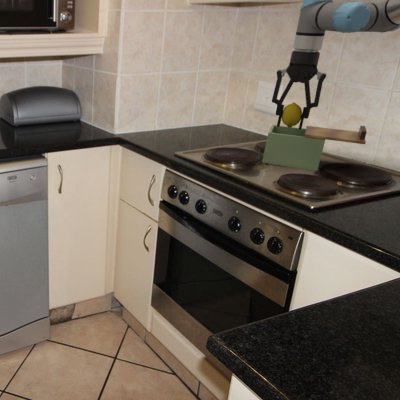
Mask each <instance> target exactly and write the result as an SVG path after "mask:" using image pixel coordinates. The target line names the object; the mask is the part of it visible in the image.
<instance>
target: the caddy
mask: <svg viewBox="0 0 400 400" xmlns="http://www.w3.org/2000/svg"><path fill="white" fill-rule="evenodd" d="M305 131H306V128H303V127H302V129H299V127H296V126H292V127H291V128H288V126H287V125H280V126H279V127H277V124H271V126H270V129H269V130H268V133H267V136H266V142H265V147H264V152H263V156H262V162H261V163H262V164H268V165H275V166H281V167H287V168H294V169H295V168H297V169H305V170H312V171H319V166H320V162H321V158H322V155H323V151H324V146H325V144H326V143H325V142H326V139H319V138H311V137H304V136H305Z"/></svg>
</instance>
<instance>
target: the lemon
mask: <svg viewBox="0 0 400 400" xmlns="http://www.w3.org/2000/svg"><path fill="white" fill-rule="evenodd" d="M302 112H303V109H302V107H301V106H300V105H299V104H297V103H296V102H292V103H289V104H287V105H286V106H284V109H283V113H282V118H281V122H282V123H283V125H284V126H288V128H291V127H296V126H297V125H298V124H300V121H301V117H302Z"/></svg>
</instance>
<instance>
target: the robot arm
mask: <svg viewBox="0 0 400 400" xmlns="http://www.w3.org/2000/svg"><path fill="white" fill-rule="evenodd" d="M299 11H300V12H299V17H298V21H297V26H296V30H295V31H296V32H295V35H294V40H293V45H292V49H293V50H292V51H291V54H290V59H289V63H288V66H287V67H286V68H283V69H278V70H276V77H277V78H276V82H275V86H274V90H273V94H272V98H271V103H273V104H275V105H276V109H275V116H277V117H278V119H277V123H276V125H277V127H279V126H281V122H282V113H283V110H284V108H285V104H283V102H284V101H285V99H286V97H287V96H288V93H289V92H290V90H291V88H292V86H293V84H294V83H300V84H303V85H304V95H305V106H303V108H302V117H301V120H300V122H299V125H298V128H299V129H302V128H303V124H304V120H305V119H306V120H307V119H309V117H310V112H311V110H312V108H318V106H319V103H320V97H321V93H322V89H323V83H324V81H325V79H326V78H327V73H326V72H320V71H319V69H318V65H319V60H320V57H321V56H320V55H321V53H320V51H321V50H322V47H323V43H324V38H325V35H326V31H327V32H337V33H341V34H345V33H346V34H348V33H349V34H352V33H353V34H354V33H367V32H368V33H388V32H394V31H397V30H399V29H400V0H383V1H379V2H361V1H360V2H359V1H334V0H302V3H301V7H300V9H299ZM286 74H287V75H288V78H289V81H288V83H287V85H286V87H285V89H284V91H283V92H282V94H281V96H280V98H279V99H278V96H279V91H280V88H281V85H282V80H283V77H285V75H286ZM315 76H316V80H318V81H317V85H316V90H315V96H314V100H313V102H312V98H311V87H310V86H311V85H310V81H311V80H312V79H313V78H314V77H315Z"/></svg>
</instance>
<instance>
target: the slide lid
mask: <svg viewBox="0 0 400 400" xmlns="http://www.w3.org/2000/svg"><path fill="white" fill-rule="evenodd" d="M305 129H306V131H305V136H304V137H311V138H319V139H325V141H326V140H328V141H335V142H343V143H349V144H359V145H366V142H367V141H366V136H367V127H366V126H365V125H359V129H358V131H354V130H346V129H339V128H331V127H330V128H329V127H323V126H322V127H321V126H313V125H306V126H305Z"/></svg>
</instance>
